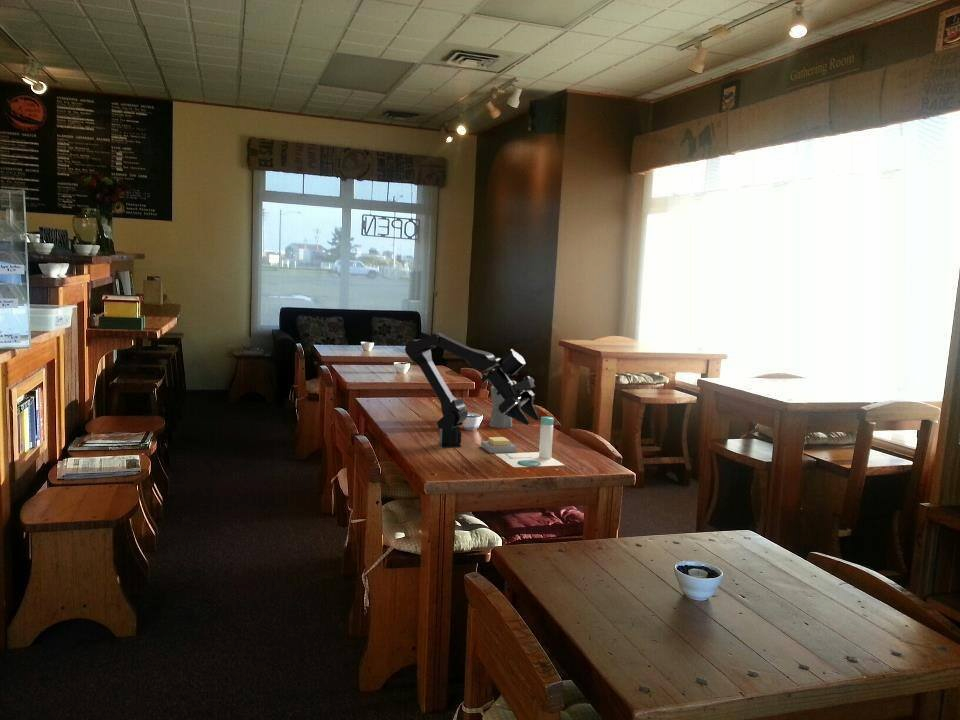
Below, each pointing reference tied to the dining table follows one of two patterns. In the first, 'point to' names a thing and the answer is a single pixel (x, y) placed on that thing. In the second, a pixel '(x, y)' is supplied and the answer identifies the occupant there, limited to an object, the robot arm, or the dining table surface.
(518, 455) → the drawing board
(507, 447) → the button housing
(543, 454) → the marker
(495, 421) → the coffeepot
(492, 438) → the button
